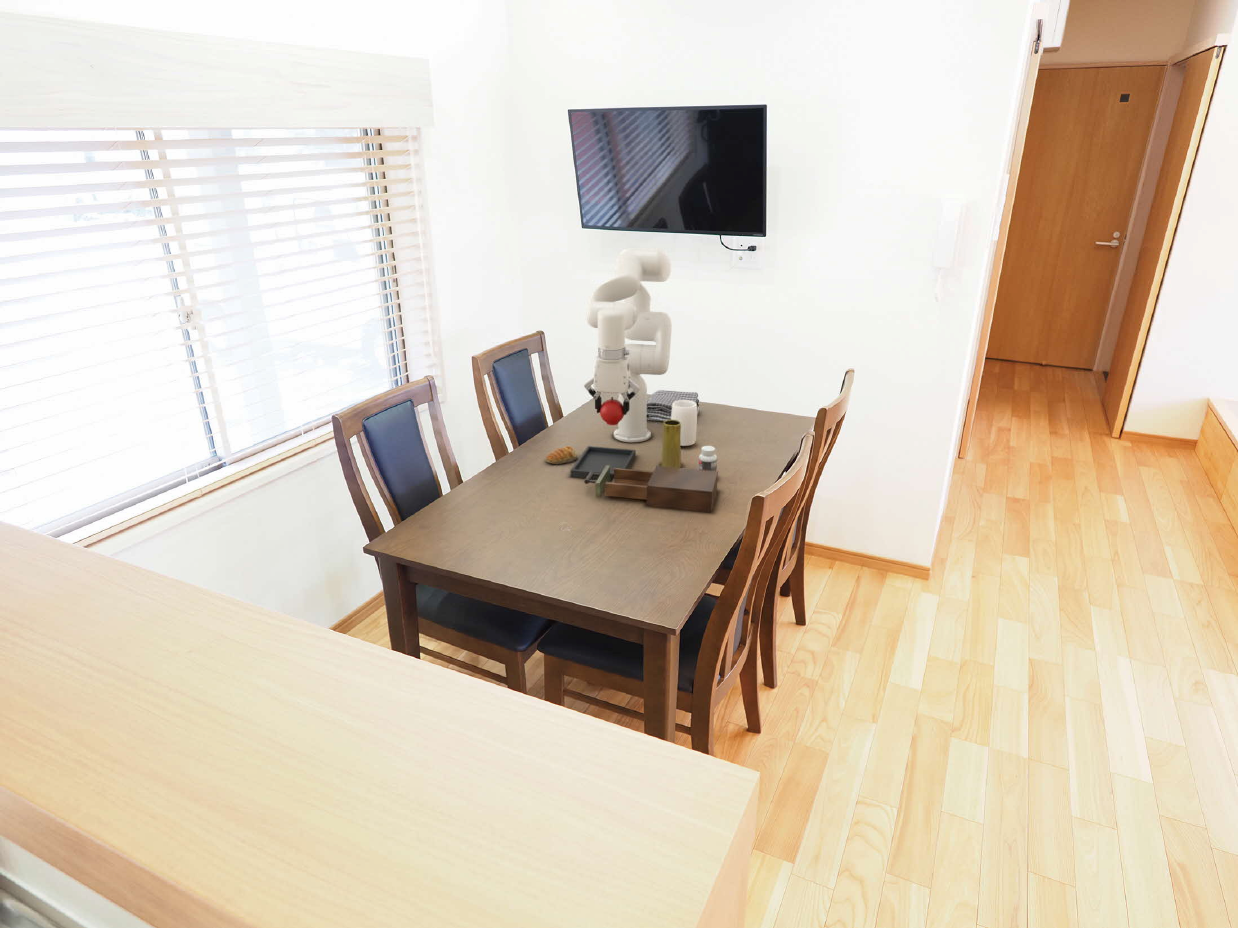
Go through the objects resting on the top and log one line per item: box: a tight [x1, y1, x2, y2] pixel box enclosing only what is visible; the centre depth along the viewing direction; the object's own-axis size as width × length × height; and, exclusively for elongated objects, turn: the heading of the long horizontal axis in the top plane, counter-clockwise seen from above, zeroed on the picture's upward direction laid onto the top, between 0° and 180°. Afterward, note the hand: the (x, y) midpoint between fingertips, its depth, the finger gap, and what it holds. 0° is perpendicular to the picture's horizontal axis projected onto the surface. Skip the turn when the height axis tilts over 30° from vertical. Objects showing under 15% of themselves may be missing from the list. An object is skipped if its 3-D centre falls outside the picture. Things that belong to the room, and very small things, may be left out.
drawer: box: [583, 465, 654, 501], centre depth 223 cm, size 21×13×4 cm, turn 77°
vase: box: [660, 420, 682, 468], centre depth 239 cm, size 6×6×14 cm
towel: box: [647, 389, 700, 422], centre depth 281 cm, size 15×18×8 cm
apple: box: [599, 396, 624, 426], centre depth 227 cm, size 7×7×8 cm
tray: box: [570, 445, 637, 482], centre depth 241 cm, size 20×16×2 cm
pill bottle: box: [697, 445, 718, 471], centre depth 231 cm, size 5×5×10 cm
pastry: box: [546, 445, 578, 465], centre depth 245 cm, size 9×7×4 cm
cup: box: [671, 400, 698, 447], centre depth 255 cm, size 8×8×14 cm
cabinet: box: [646, 465, 719, 513], centre depth 220 cm, size 18×14×6 cm
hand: (612, 412), depth 228 cm, fingers closed on apple, 7 cm apart
